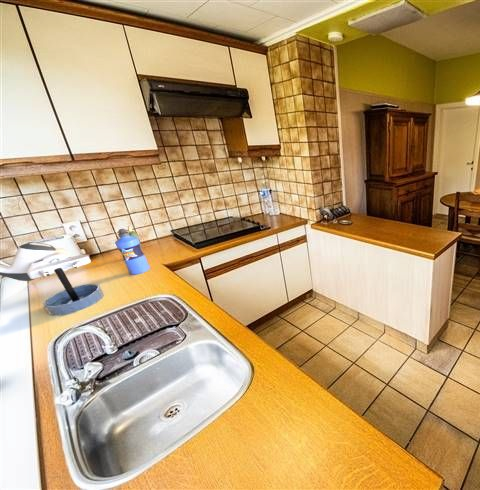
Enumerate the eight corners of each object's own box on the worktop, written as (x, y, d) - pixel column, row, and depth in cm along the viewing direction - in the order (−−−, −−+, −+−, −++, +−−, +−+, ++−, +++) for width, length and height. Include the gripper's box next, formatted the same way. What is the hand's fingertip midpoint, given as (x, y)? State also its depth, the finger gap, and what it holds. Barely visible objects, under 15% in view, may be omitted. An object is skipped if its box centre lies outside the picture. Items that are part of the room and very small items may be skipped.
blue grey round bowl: (51, 324, 108) (43, 312, 106) (50, 308, 119) (42, 297, 116) (108, 303, 120) (102, 292, 118) (102, 290, 131) (96, 280, 128)
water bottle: (134, 268, 152) (115, 227, 142) (153, 265, 154) (136, 225, 144) (126, 276, 144) (105, 233, 133) (146, 273, 146) (127, 230, 136)
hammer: (70, 309, 116) (48, 273, 108) (69, 304, 119) (47, 269, 112) (87, 303, 119) (67, 268, 112) (86, 298, 123) (66, 264, 116)
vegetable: (138, 254, 170) (125, 225, 162) (146, 253, 172) (134, 224, 164) (136, 257, 167) (123, 227, 159) (144, 255, 168) (132, 226, 160)
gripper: (91, 260, 139) (95, 267, 130) (32, 276, 125) (32, 285, 116) (85, 249, 136) (89, 256, 128) (25, 264, 122) (24, 273, 114)
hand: (61, 270), depth 122 cm, fingers open, 8 cm apart
